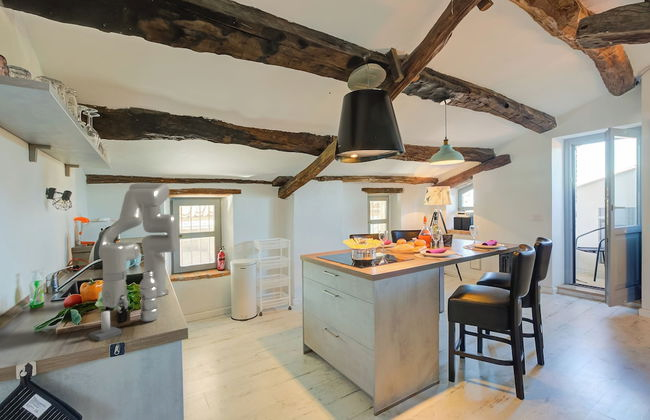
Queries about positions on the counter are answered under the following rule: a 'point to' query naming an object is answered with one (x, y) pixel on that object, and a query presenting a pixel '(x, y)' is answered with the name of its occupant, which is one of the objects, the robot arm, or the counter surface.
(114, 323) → the wooden block with hole
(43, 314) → the counter surface
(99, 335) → the post base
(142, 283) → the plastic bottle
